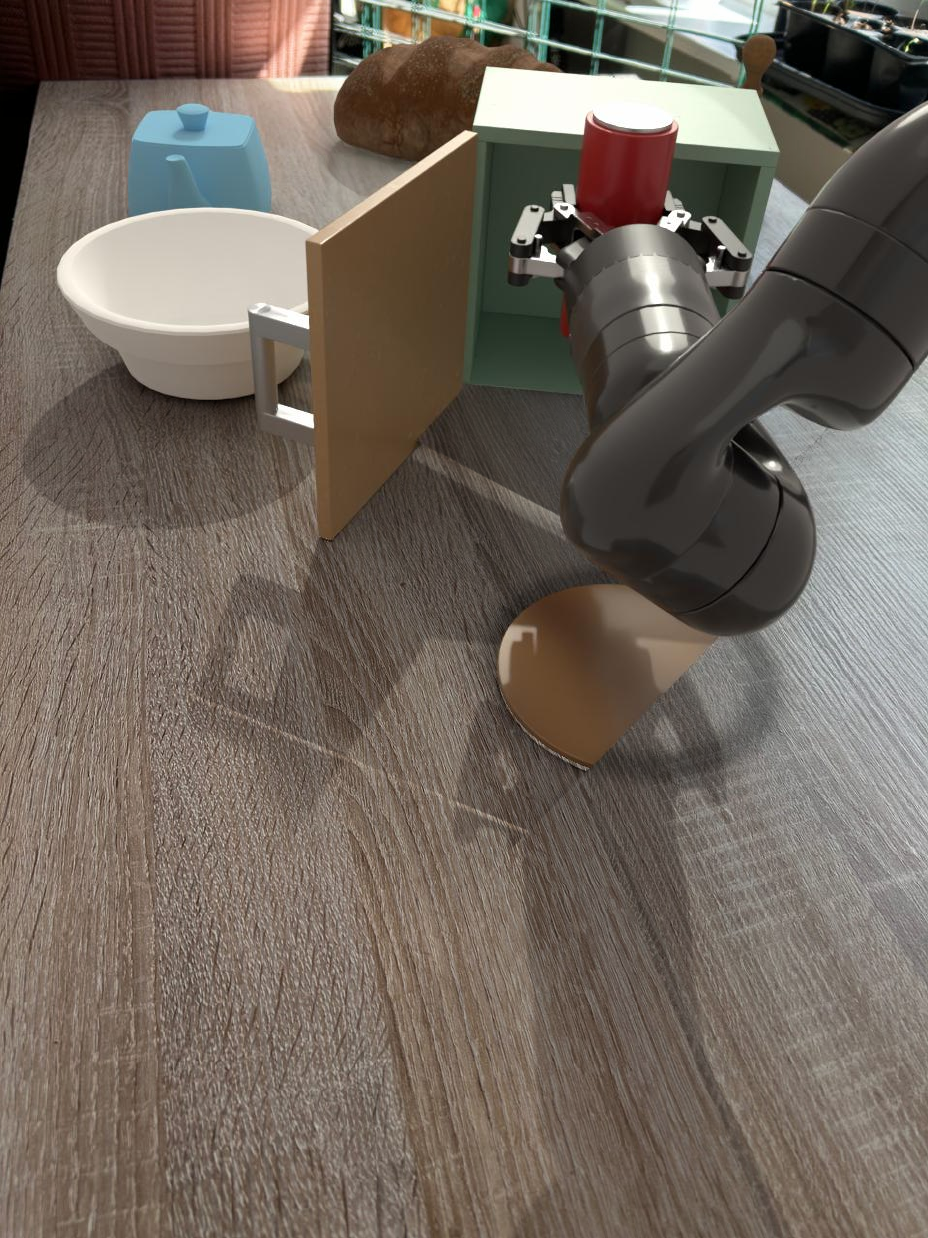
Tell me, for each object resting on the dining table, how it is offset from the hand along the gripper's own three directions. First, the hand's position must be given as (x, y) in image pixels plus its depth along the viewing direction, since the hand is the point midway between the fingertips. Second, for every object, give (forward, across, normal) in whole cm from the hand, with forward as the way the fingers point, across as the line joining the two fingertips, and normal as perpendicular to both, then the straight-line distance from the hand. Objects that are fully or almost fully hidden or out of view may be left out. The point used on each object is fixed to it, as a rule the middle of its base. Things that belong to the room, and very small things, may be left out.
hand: (612, 202), depth 67 cm
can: (-3, 0, +8) cm, 8 cm away
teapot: (+30, +33, +18) cm, 48 cm away
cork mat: (-25, -1, +18) cm, 30 cm away
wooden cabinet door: (-3, +16, +17) cm, 24 cm away
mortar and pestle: (+41, -18, +17) cm, 48 cm away
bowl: (+8, +28, +18) cm, 34 cm away
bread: (+58, +9, +17) cm, 62 cm away
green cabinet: (+11, -1, +18) cm, 21 cm away
